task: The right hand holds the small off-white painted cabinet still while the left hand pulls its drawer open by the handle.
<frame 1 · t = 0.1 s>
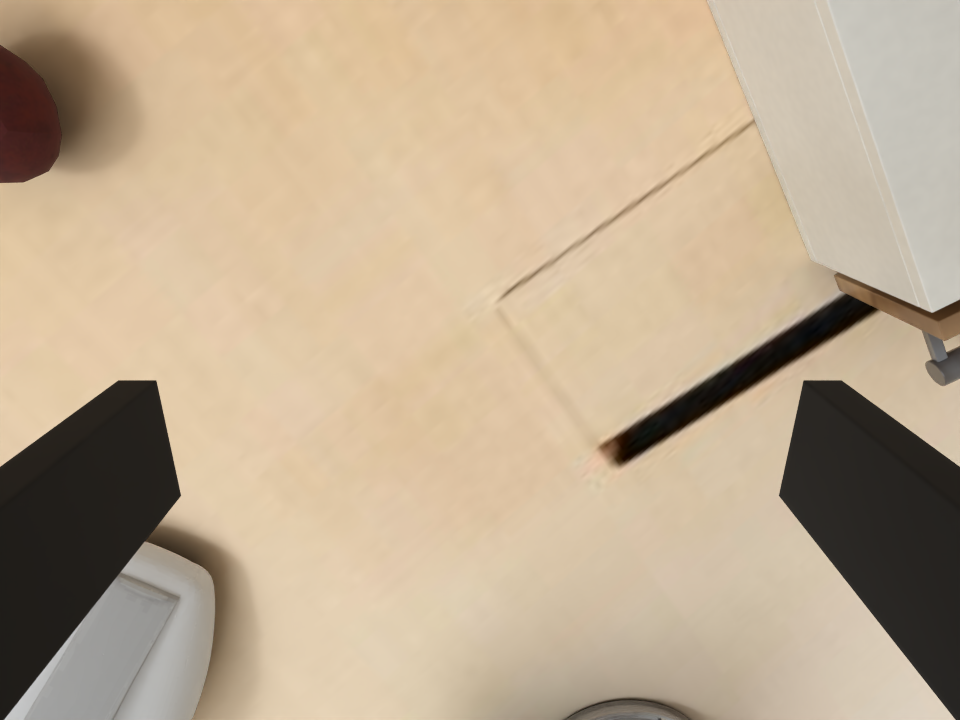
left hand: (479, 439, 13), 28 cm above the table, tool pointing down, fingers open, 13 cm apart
cabinet: (829, 63, 35), on the table
potato: (27, 113, 36), on the table
drawer: (925, 160, 32), point 6 cm above the table, slide at 1.2 cm
projector: (126, 633, 51), on the table
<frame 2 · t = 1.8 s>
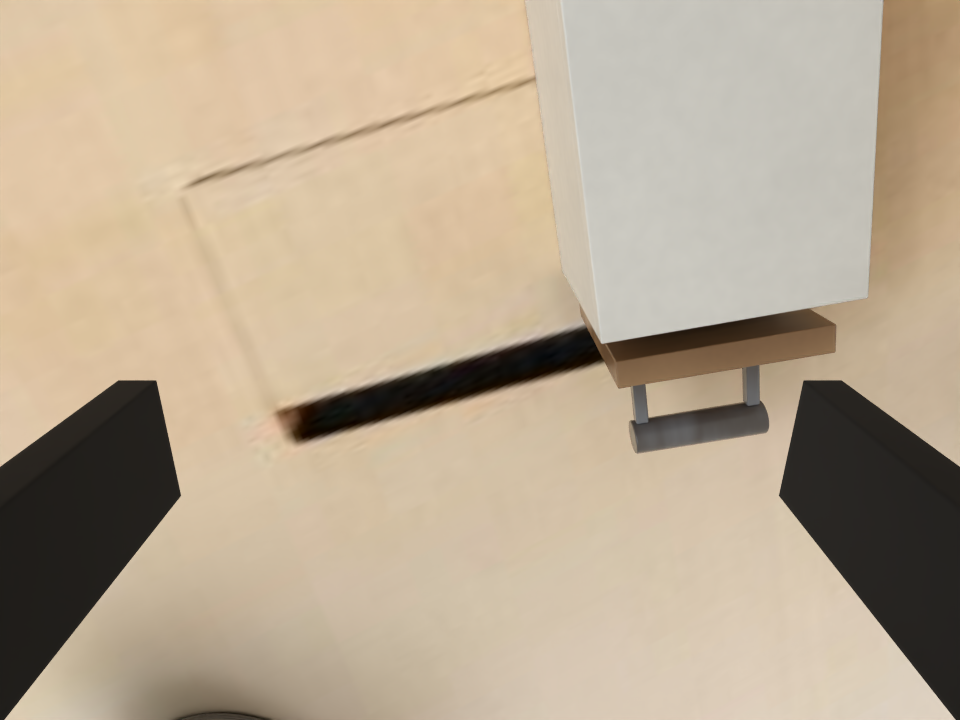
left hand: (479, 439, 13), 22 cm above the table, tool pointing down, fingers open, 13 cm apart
cabinet: (633, 42, 29), on the table
drawer: (677, 176, 26), point 6 cm above the table, slide at 1.2 cm
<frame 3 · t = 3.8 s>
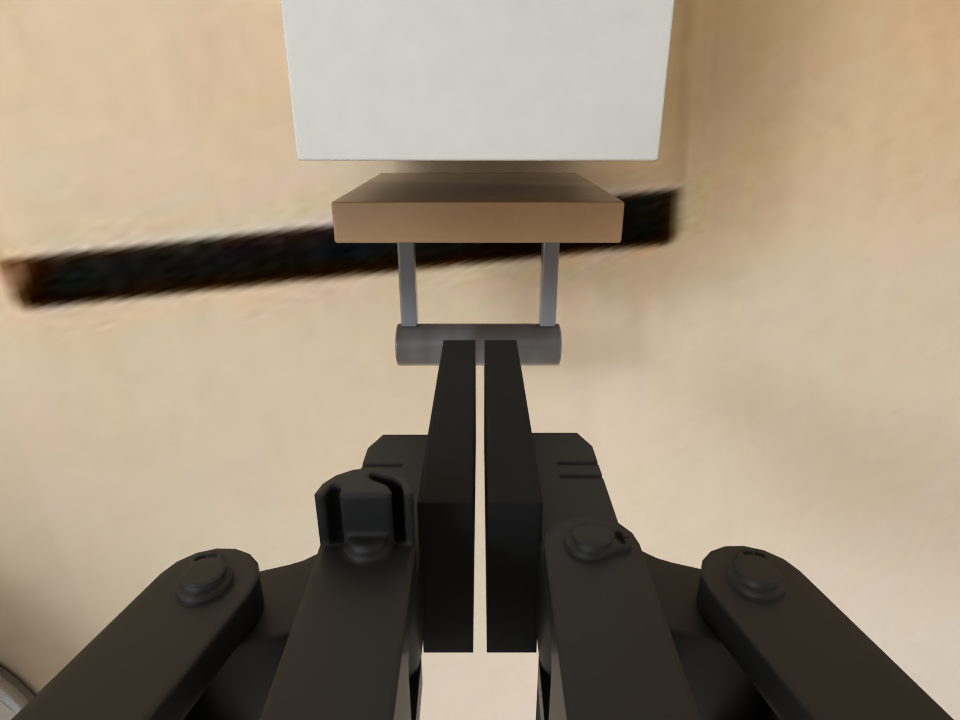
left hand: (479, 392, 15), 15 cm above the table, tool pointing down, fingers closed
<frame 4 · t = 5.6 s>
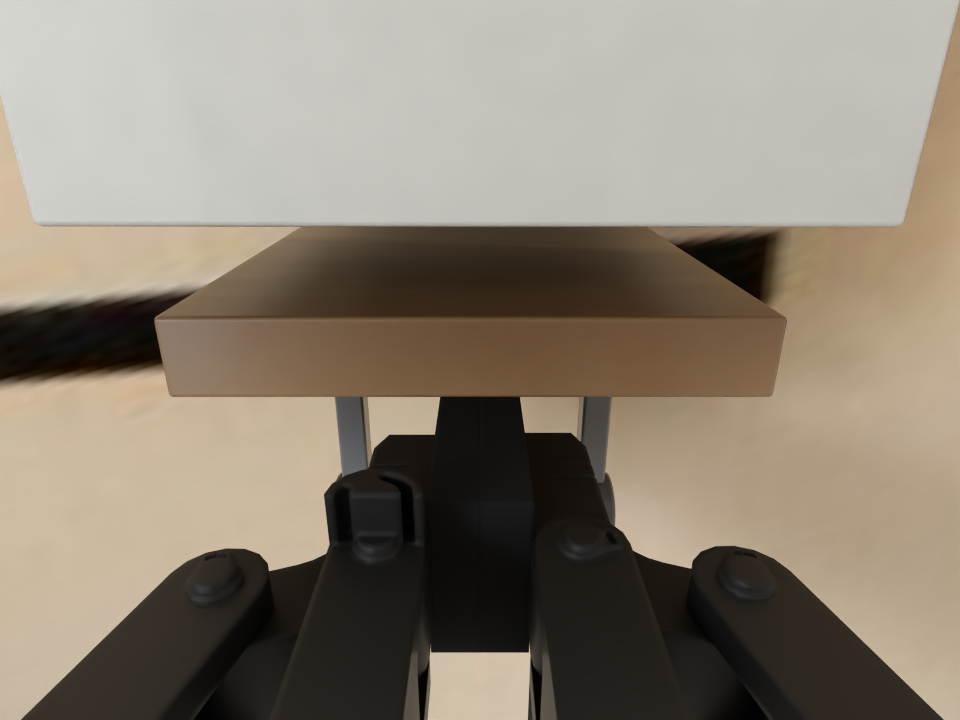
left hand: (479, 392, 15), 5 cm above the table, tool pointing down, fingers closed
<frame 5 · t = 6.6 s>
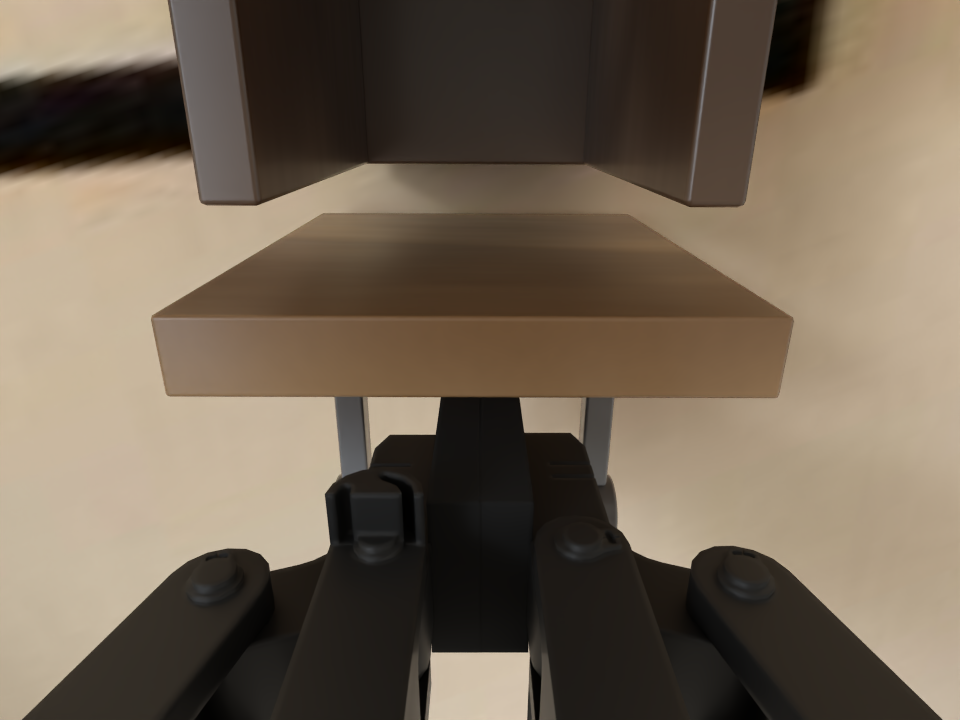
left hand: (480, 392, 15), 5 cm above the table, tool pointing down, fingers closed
when the right hand's fingers open (6 cm above the table, at t = 8.3 s): cabinet stays where it is, on the table.
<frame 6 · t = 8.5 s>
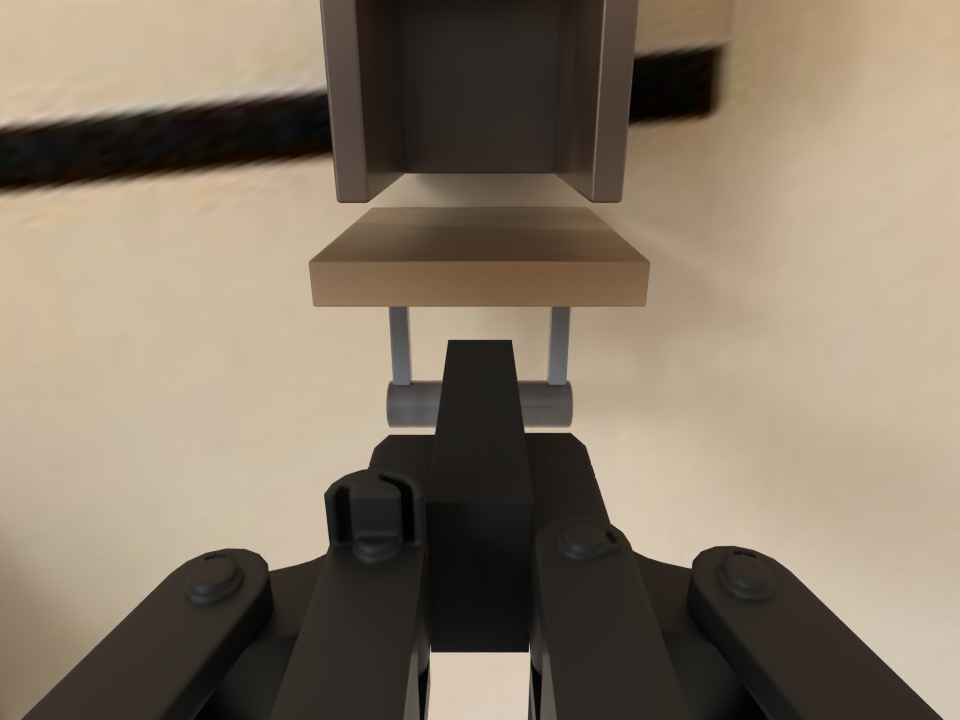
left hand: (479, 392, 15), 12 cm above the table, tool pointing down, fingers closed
drawer: (479, 19, 17), point 6 cm above the table, slide at 7.6 cm
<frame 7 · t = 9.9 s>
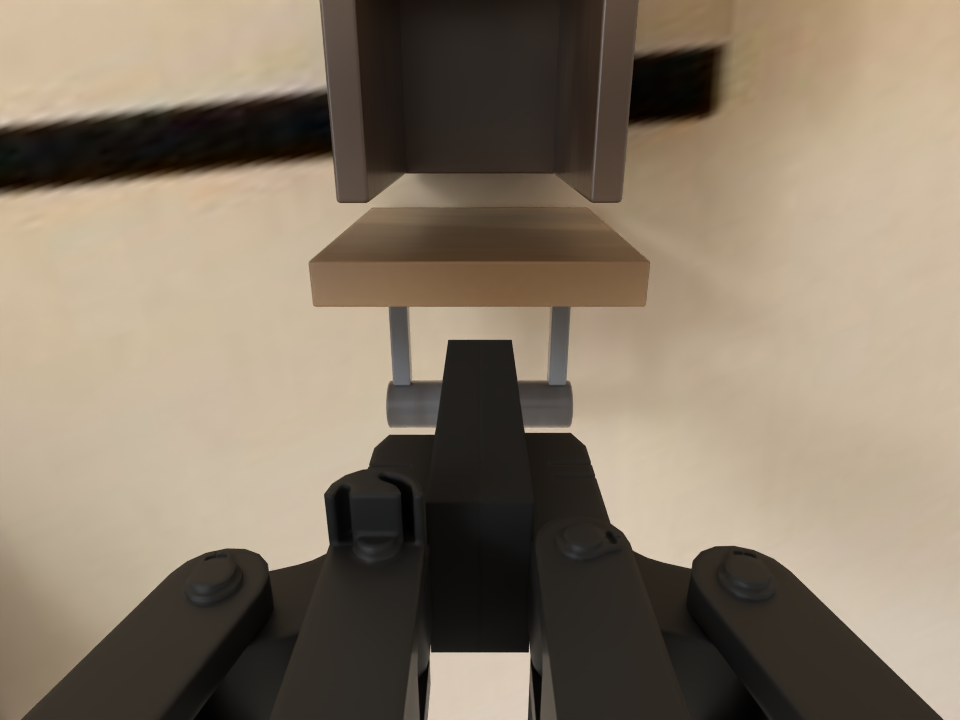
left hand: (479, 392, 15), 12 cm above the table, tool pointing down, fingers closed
drawer: (479, 19, 17), point 6 cm above the table, slide at 7.6 cm
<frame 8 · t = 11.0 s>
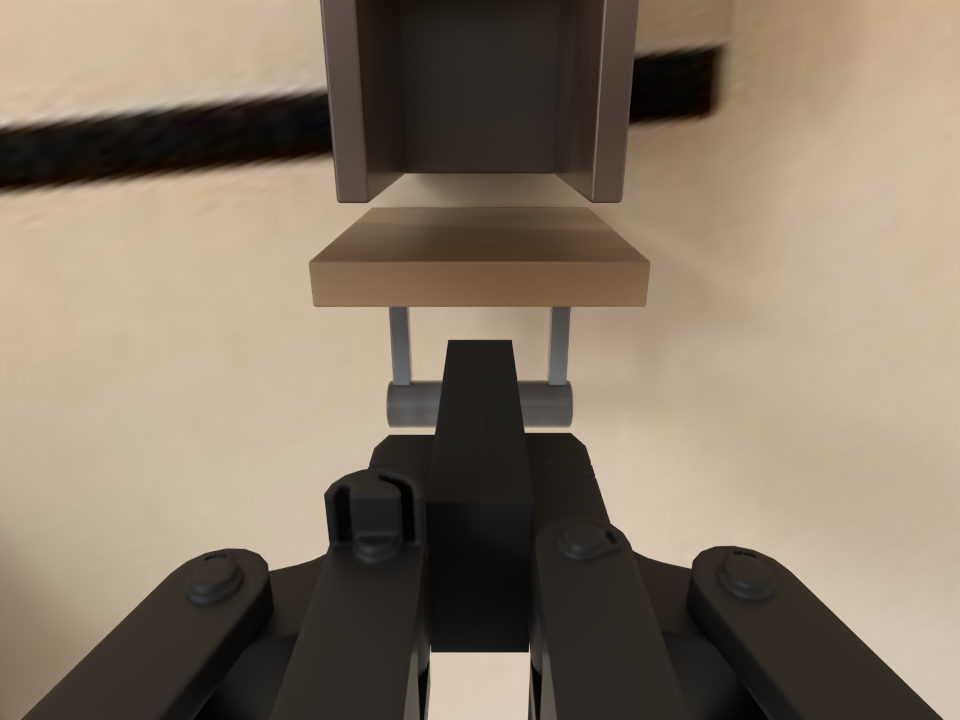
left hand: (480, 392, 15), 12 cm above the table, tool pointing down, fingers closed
drawer: (479, 19, 17), point 6 cm above the table, slide at 7.6 cm
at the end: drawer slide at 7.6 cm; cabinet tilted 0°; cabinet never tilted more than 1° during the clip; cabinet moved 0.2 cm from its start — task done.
